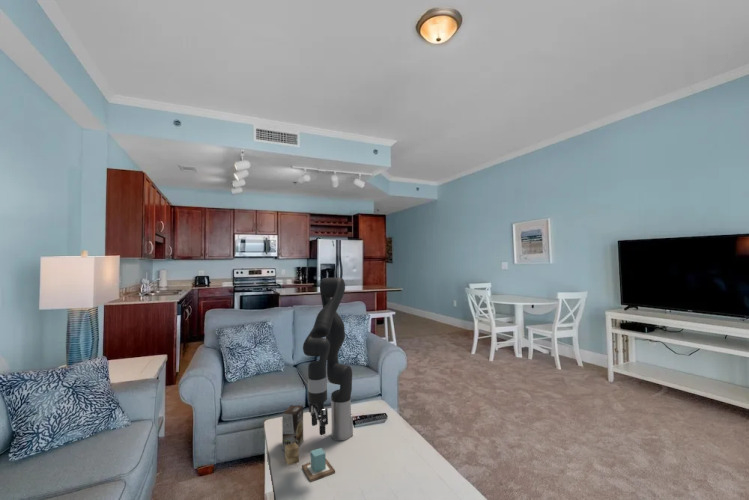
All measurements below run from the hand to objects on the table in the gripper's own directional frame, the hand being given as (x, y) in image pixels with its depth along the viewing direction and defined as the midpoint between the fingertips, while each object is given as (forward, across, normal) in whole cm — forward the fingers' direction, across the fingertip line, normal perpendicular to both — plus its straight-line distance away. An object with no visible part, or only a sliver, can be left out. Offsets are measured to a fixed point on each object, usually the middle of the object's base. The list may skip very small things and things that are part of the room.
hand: (318, 429), depth 132 cm
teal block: (+15, 0, 0) cm, 15 cm away
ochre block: (+16, +12, +7) cm, 21 cm away
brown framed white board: (+16, 0, 0) cm, 16 cm away
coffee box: (+16, +23, +3) cm, 28 cm away
